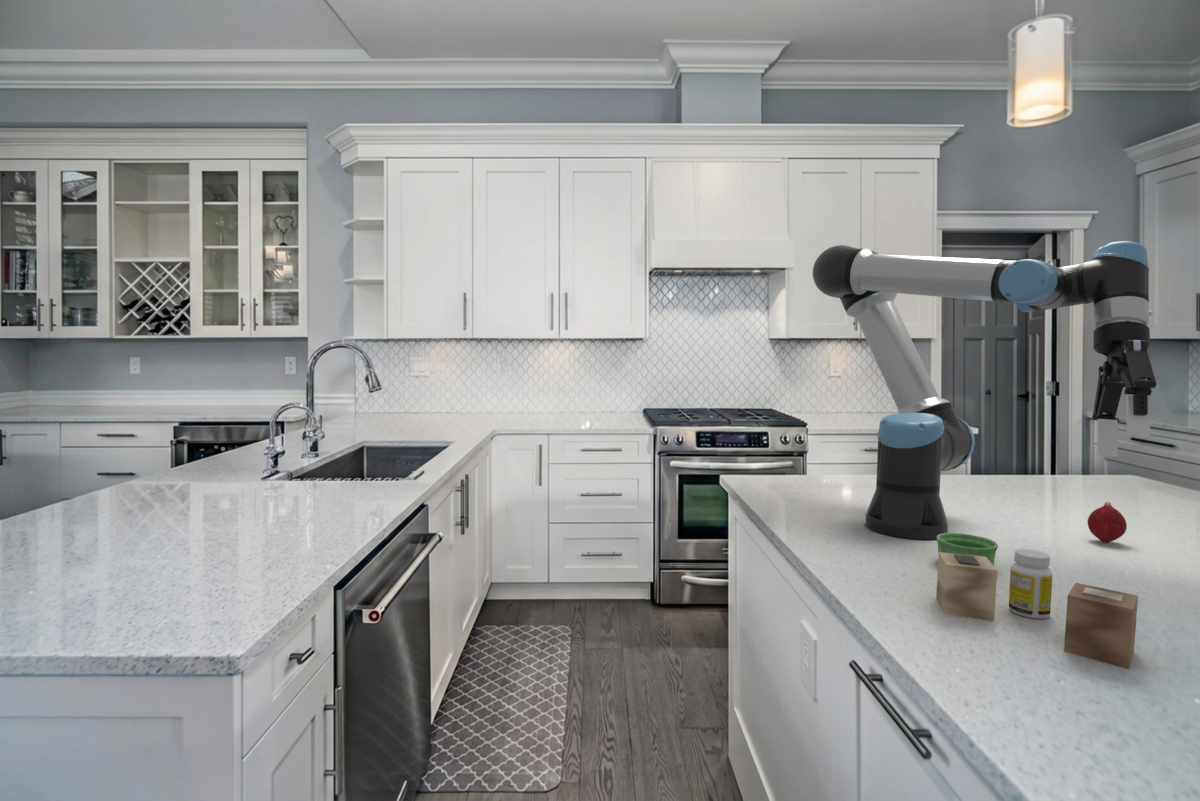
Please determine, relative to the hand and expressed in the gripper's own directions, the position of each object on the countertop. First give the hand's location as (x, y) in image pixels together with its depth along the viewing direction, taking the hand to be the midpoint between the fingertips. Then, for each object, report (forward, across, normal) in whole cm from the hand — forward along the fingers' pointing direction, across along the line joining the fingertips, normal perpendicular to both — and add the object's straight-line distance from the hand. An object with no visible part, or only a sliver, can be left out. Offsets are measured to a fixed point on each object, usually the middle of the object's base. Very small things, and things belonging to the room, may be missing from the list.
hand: (1121, 447), depth 104 cm
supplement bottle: (+30, -18, +16) cm, 39 cm away
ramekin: (+24, 0, +22) cm, 32 cm away
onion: (+13, +24, -5) cm, 28 cm away
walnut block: (+33, -28, +11) cm, 45 cm away
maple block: (+31, -20, +24) cm, 44 cm away
